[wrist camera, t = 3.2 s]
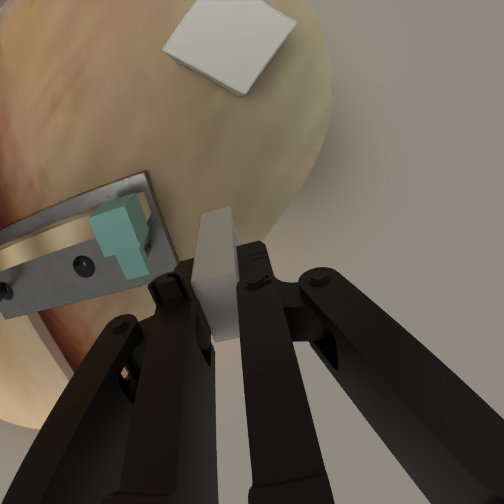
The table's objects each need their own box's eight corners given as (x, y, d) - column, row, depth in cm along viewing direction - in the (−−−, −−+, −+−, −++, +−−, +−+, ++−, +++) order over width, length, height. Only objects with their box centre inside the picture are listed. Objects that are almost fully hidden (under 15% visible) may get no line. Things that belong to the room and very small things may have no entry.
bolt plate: (8, 314, 31) (5, 319, 30) (-30, 244, 26) (-35, 248, 25) (182, 270, 30) (181, 275, 30) (146, 169, 26) (143, 172, 25)
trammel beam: (-6, 297, 29) (-26, 322, 24) (-29, 254, 26) (-53, 276, 21) (164, 247, 28) (155, 276, 24) (142, 185, 25) (126, 204, 21)
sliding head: (133, 257, 28) (119, 288, 23) (109, 196, 25) (87, 218, 21) (164, 248, 28) (154, 279, 23) (140, 185, 25) (124, 205, 21)
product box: (173, 62, 22) (157, 49, 16) (215, 4, 20) (214, -27, 14) (238, 98, 24) (245, 97, 18) (279, 40, 22) (301, 21, 16)
